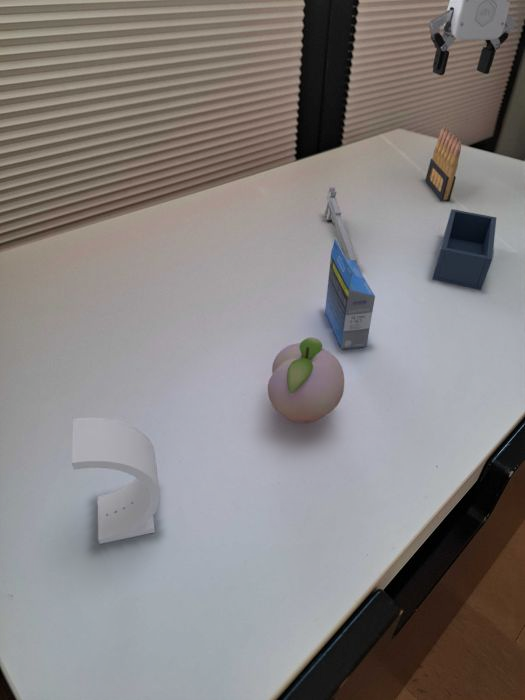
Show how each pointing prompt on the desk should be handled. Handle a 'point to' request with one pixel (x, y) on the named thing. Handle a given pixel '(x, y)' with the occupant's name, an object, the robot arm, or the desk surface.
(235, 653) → the desk surface
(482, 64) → the robot arm
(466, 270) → the desk tidy
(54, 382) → the desk surface
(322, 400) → the decorative fruit
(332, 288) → the label tape box
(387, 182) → the desk surface
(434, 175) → the ammunition clip
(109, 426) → the headphone stand
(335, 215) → the caliper
